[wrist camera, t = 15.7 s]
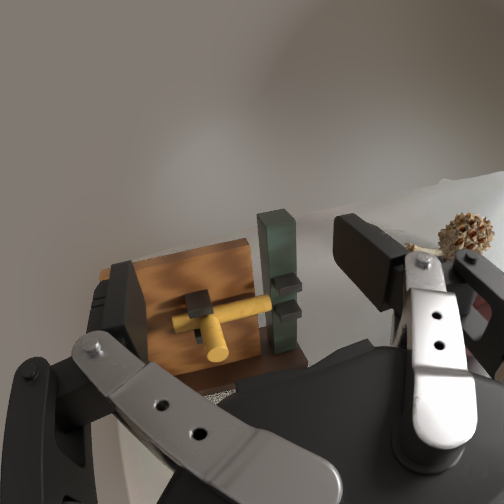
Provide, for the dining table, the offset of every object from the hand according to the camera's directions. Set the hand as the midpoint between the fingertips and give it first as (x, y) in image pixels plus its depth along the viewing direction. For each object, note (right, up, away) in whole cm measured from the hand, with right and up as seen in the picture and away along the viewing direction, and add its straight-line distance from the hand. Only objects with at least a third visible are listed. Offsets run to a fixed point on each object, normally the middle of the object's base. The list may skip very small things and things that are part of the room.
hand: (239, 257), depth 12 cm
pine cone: (+38, -2, +41) cm, 56 cm away
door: (-3, -14, +27) cm, 31 cm away
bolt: (-2, -8, +18) cm, 20 cm away
